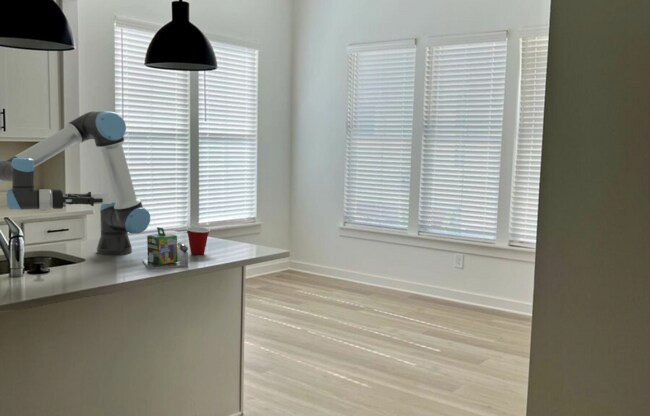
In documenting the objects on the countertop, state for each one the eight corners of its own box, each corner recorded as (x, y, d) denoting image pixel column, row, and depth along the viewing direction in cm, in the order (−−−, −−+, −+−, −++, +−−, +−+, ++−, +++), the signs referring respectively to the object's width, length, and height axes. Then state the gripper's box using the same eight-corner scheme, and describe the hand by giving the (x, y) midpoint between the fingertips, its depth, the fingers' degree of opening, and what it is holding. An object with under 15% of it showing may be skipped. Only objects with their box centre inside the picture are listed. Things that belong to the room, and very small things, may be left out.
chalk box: (178, 262, 257) (178, 227, 255) (158, 265, 250) (158, 229, 248) (165, 259, 263) (165, 225, 261) (146, 262, 256) (146, 227, 255)
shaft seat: (142, 261, 261) (142, 242, 260) (181, 259, 267) (181, 240, 267) (148, 269, 246) (148, 249, 245) (189, 266, 253) (189, 247, 252)
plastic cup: (204, 257, 274) (204, 230, 273) (182, 255, 276) (182, 229, 275) (213, 253, 285) (213, 227, 283) (191, 251, 287) (192, 226, 285)
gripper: (51, 205, 248) (107, 204, 256) (52, 212, 225) (113, 211, 234) (51, 186, 247) (106, 186, 255) (51, 192, 224) (112, 191, 233)
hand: (110, 198), depth 245 cm, fingers open, 13 cm apart
